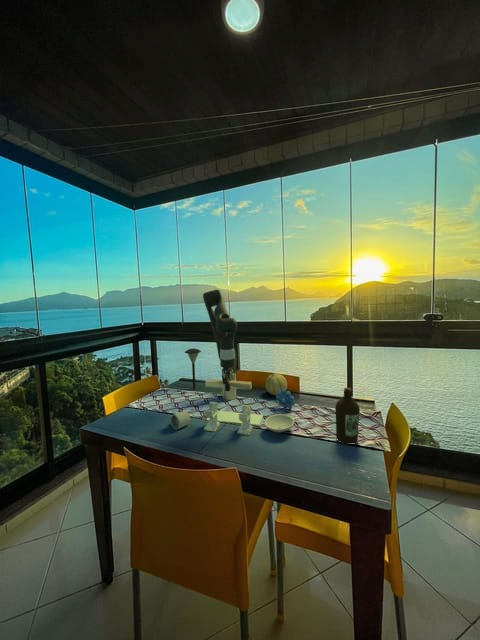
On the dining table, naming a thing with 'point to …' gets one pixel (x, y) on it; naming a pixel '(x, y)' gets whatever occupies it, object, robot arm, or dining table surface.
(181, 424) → the ceramic mug
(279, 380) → the cantaloupe
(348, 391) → the olive oil
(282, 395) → the grapes
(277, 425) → the dish
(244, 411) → the hook rack
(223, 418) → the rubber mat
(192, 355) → the solar garden light
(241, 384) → the birch batten
